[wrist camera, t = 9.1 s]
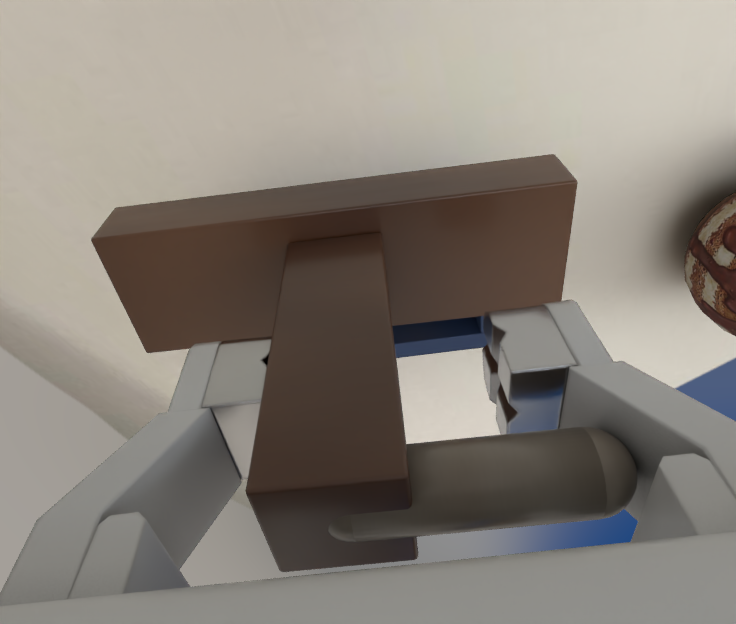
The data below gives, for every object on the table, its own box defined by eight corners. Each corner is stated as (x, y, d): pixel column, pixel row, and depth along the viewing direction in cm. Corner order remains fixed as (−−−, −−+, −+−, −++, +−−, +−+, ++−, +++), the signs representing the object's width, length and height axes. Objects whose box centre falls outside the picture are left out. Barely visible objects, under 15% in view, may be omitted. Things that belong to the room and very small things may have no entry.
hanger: (163, 316, 14) (25, 624, 8) (114, 206, 12) (-116, 503, 6) (542, 273, 14) (700, 563, 8) (554, 153, 12) (781, 414, 6)
